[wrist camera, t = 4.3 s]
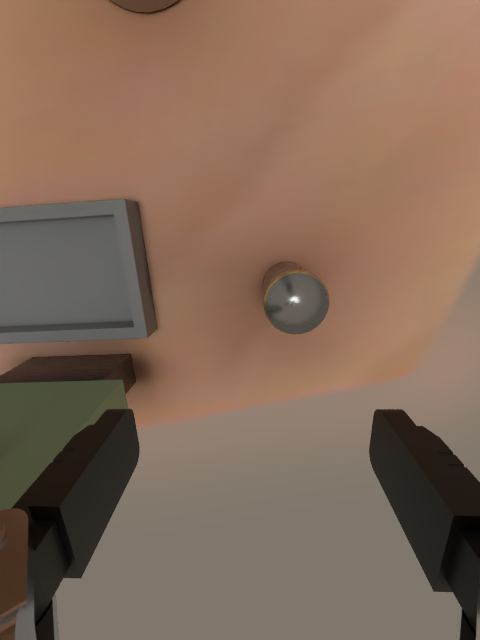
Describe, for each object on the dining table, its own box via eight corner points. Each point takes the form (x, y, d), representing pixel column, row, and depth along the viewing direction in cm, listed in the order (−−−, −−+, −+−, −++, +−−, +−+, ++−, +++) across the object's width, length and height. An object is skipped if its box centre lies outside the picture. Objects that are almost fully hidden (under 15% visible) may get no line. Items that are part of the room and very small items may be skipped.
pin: (260, 261, 24) (263, 273, 18) (310, 259, 24) (331, 270, 18) (262, 309, 26) (265, 336, 19) (309, 307, 25) (329, 334, 19)
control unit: (9, 348, 28) (-373, 532, 11) (148, 342, 27) (-30, 534, 10) (24, 391, 30) (-295, 615, 12) (156, 387, 29) (11, 622, 12)
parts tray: (-88, 217, 25) (-124, 216, 22) (137, 202, 23) (124, 199, 21) (-43, 336, 28) (-71, 346, 26) (157, 328, 27) (147, 338, 24)
